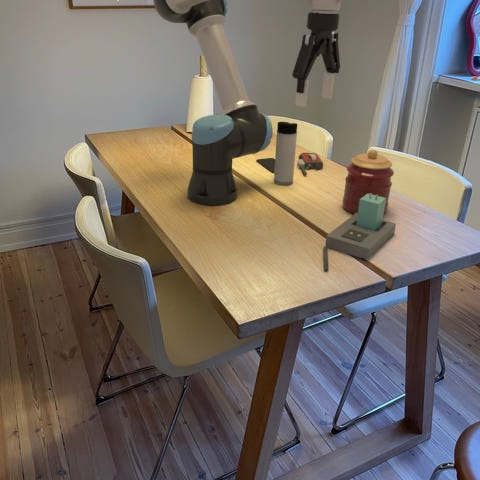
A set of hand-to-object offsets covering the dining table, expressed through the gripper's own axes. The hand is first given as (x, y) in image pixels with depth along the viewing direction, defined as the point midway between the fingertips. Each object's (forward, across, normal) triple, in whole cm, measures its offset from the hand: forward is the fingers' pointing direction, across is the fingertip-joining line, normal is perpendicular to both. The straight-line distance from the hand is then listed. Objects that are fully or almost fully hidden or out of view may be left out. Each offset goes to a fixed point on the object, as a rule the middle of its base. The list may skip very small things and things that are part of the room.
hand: (314, 102), depth 127 cm
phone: (+32, +27, +28) cm, 50 cm away
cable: (+30, -22, -20) cm, 42 cm away
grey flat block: (+30, -7, -22) cm, 38 cm away
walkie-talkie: (+32, +35, +18) cm, 50 cm away
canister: (+31, +13, -14) cm, 36 cm away
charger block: (+30, -3, -21) cm, 37 cm away
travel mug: (+31, +15, +16) cm, 38 cm away
